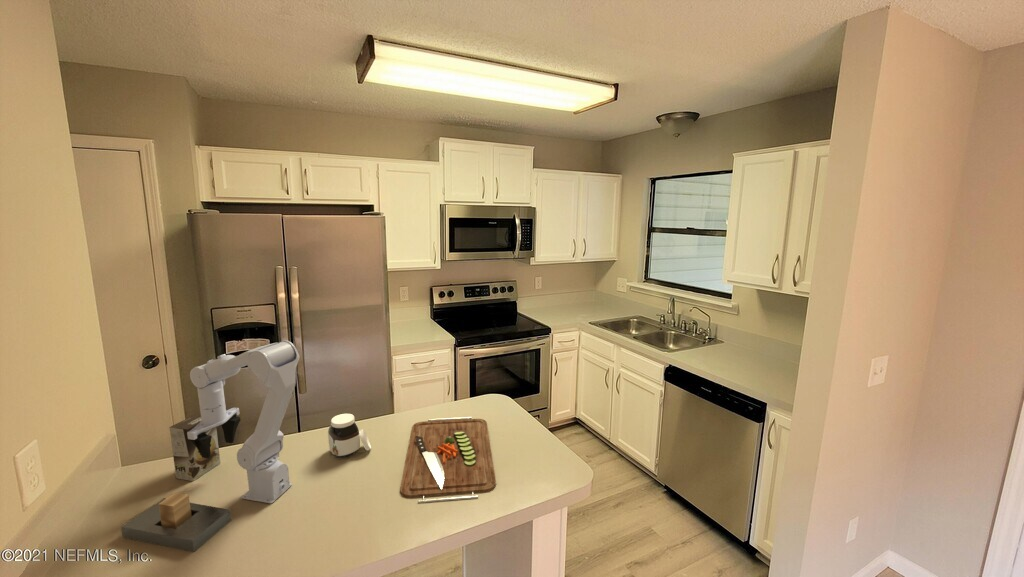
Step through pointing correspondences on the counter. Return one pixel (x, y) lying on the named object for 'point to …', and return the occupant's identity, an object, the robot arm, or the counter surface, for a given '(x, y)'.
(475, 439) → the chopping board
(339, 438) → the spread jar
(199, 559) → the counter surface
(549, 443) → the counter surface
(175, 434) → the coffee box
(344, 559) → the counter surface
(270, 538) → the counter surface
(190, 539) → the grey peg hole board
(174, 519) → the square peg
